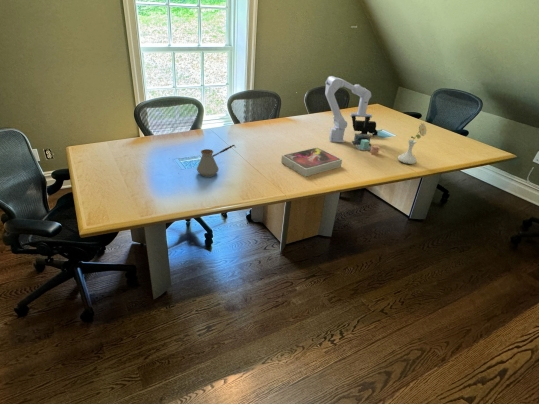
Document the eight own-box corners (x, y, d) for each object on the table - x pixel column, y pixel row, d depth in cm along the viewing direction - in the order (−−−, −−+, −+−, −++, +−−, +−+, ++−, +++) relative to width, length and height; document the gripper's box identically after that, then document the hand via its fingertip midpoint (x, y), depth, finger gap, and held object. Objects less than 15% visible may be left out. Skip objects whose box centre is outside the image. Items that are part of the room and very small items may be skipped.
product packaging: (281, 163, 202) (281, 155, 199) (316, 154, 216) (317, 147, 214) (304, 177, 187) (305, 169, 184) (340, 167, 201) (342, 159, 199)
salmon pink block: (371, 154, 220) (373, 147, 218) (370, 152, 224) (371, 145, 221) (377, 155, 220) (379, 147, 218) (376, 152, 224) (377, 145, 221)
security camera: (377, 137, 250) (381, 124, 245) (353, 135, 250) (355, 122, 245) (375, 134, 256) (378, 121, 251) (351, 132, 256) (353, 119, 251)
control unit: (353, 144, 234) (354, 135, 231) (351, 141, 238) (353, 133, 235) (370, 145, 234) (372, 136, 231) (368, 143, 238) (370, 134, 235)
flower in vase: (404, 166, 207) (415, 126, 194) (393, 158, 216) (403, 120, 204) (422, 164, 211) (434, 125, 198) (410, 157, 220) (421, 119, 207)
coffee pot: (200, 179, 176) (198, 153, 168) (194, 170, 185) (193, 144, 177) (238, 174, 184) (239, 148, 177) (231, 165, 193) (231, 140, 186)
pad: (357, 150, 225) (357, 149, 225) (355, 145, 232) (355, 144, 232) (372, 151, 225) (372, 150, 225) (369, 146, 232) (369, 145, 232)
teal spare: (363, 149, 226) (364, 141, 223) (359, 146, 229) (361, 139, 227) (368, 148, 227) (369, 141, 225) (364, 146, 231) (366, 139, 228)
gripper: (371, 106, 234) (367, 125, 241) (351, 105, 234) (347, 124, 241) (374, 109, 228) (370, 129, 235) (352, 108, 228) (349, 127, 235)
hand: (358, 127), depth 238 cm, fingers open, 7 cm apart
